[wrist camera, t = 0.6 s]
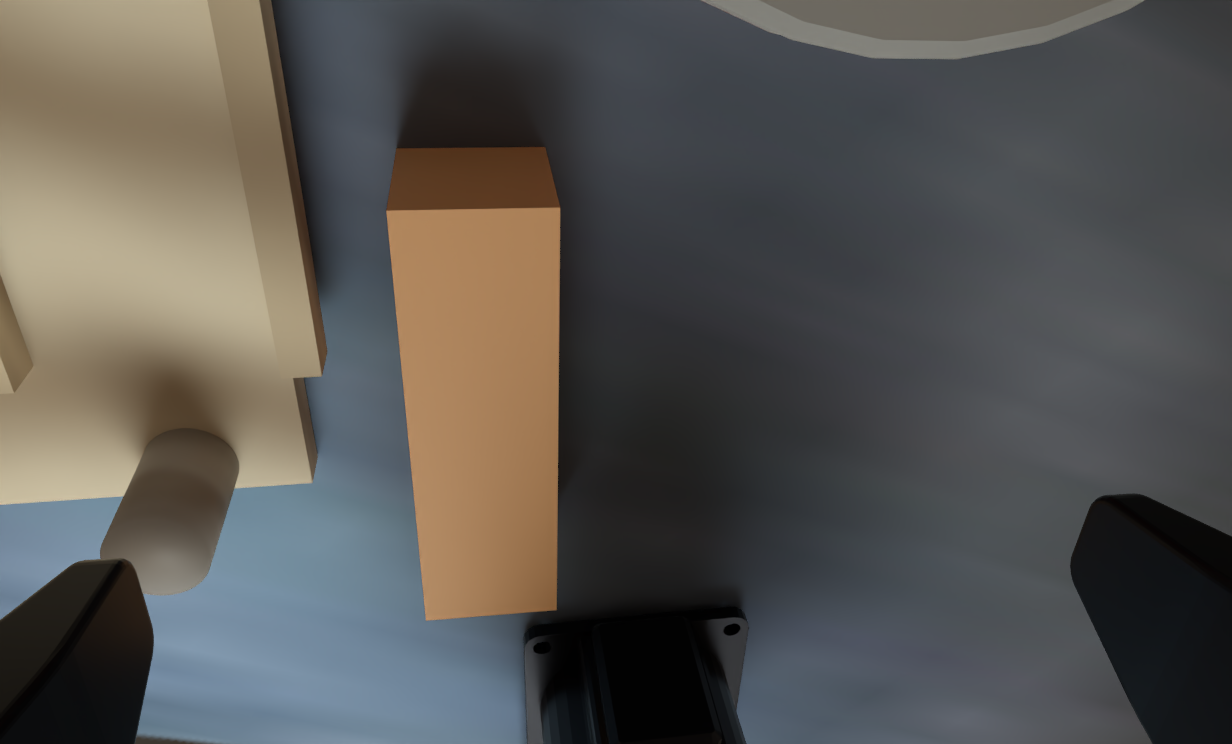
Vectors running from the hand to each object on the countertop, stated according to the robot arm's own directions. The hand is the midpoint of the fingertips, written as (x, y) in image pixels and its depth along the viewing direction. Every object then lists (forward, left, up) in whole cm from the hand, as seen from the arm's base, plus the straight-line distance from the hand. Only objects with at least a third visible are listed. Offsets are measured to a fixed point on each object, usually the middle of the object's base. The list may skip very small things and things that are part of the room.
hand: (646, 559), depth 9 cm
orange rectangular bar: (-5, +1, -13) cm, 14 cm away
